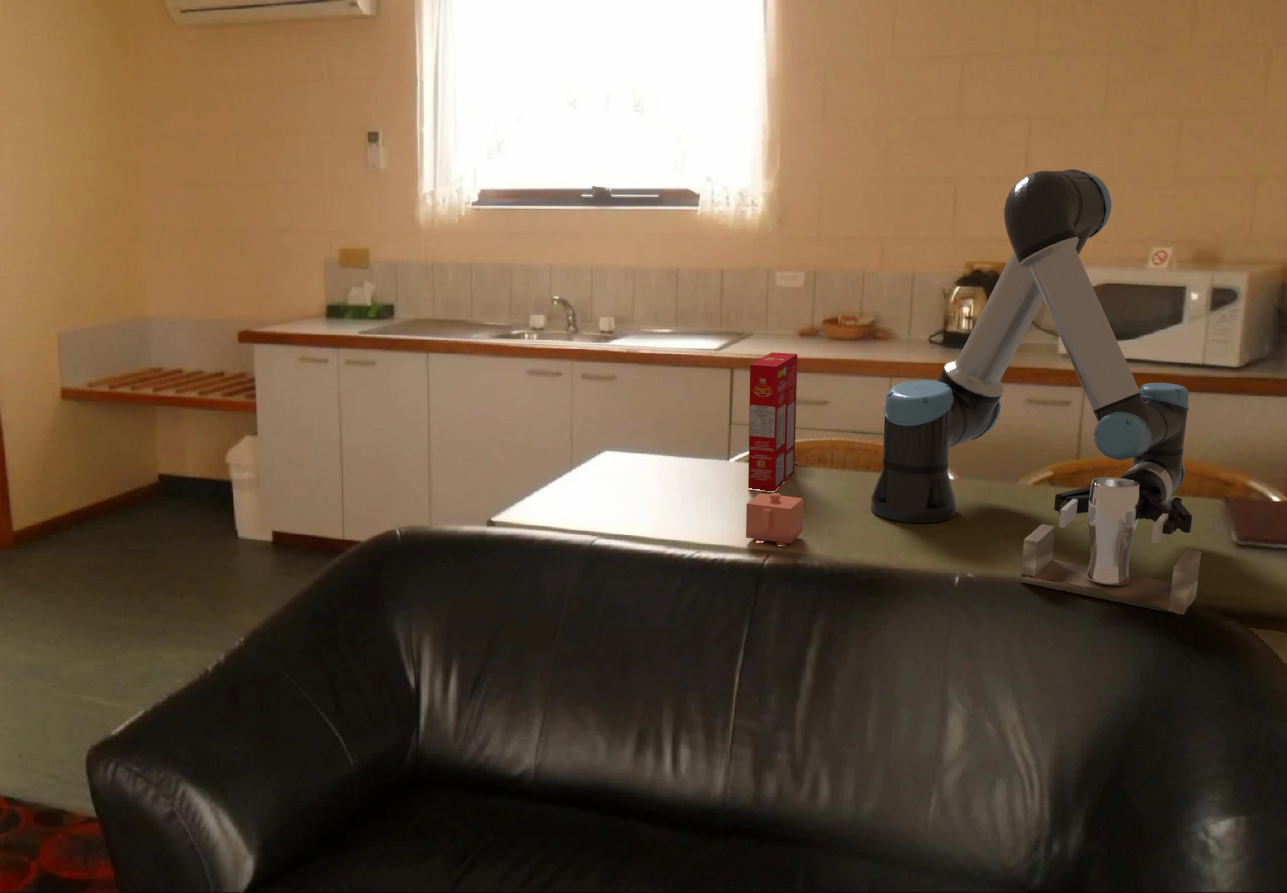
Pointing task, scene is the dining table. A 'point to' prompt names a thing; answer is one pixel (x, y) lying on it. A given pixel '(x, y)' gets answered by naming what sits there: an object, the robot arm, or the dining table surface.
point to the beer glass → (1111, 529)
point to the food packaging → (772, 420)
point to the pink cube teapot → (774, 518)
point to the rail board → (1139, 588)
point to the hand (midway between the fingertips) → (1107, 526)
